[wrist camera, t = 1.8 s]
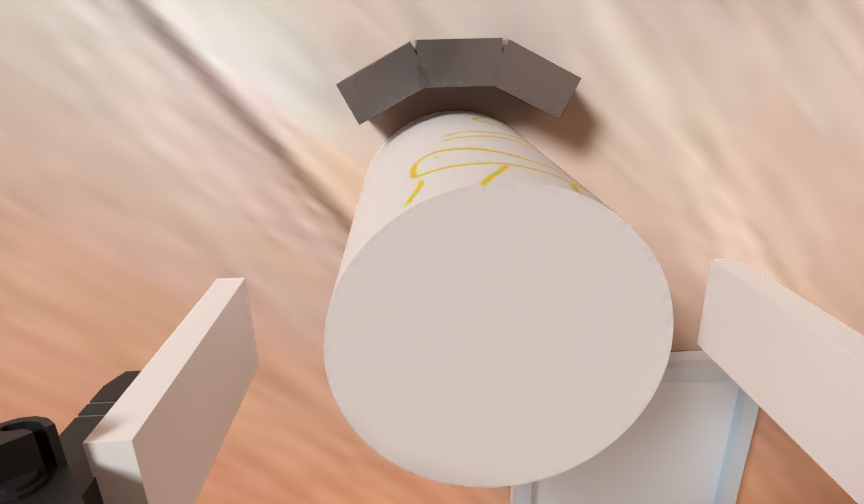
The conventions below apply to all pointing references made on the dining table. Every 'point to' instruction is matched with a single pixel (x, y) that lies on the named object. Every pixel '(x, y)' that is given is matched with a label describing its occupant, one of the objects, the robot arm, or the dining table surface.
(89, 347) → the dining table surface
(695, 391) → the tray
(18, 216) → the dining table surface
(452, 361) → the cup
